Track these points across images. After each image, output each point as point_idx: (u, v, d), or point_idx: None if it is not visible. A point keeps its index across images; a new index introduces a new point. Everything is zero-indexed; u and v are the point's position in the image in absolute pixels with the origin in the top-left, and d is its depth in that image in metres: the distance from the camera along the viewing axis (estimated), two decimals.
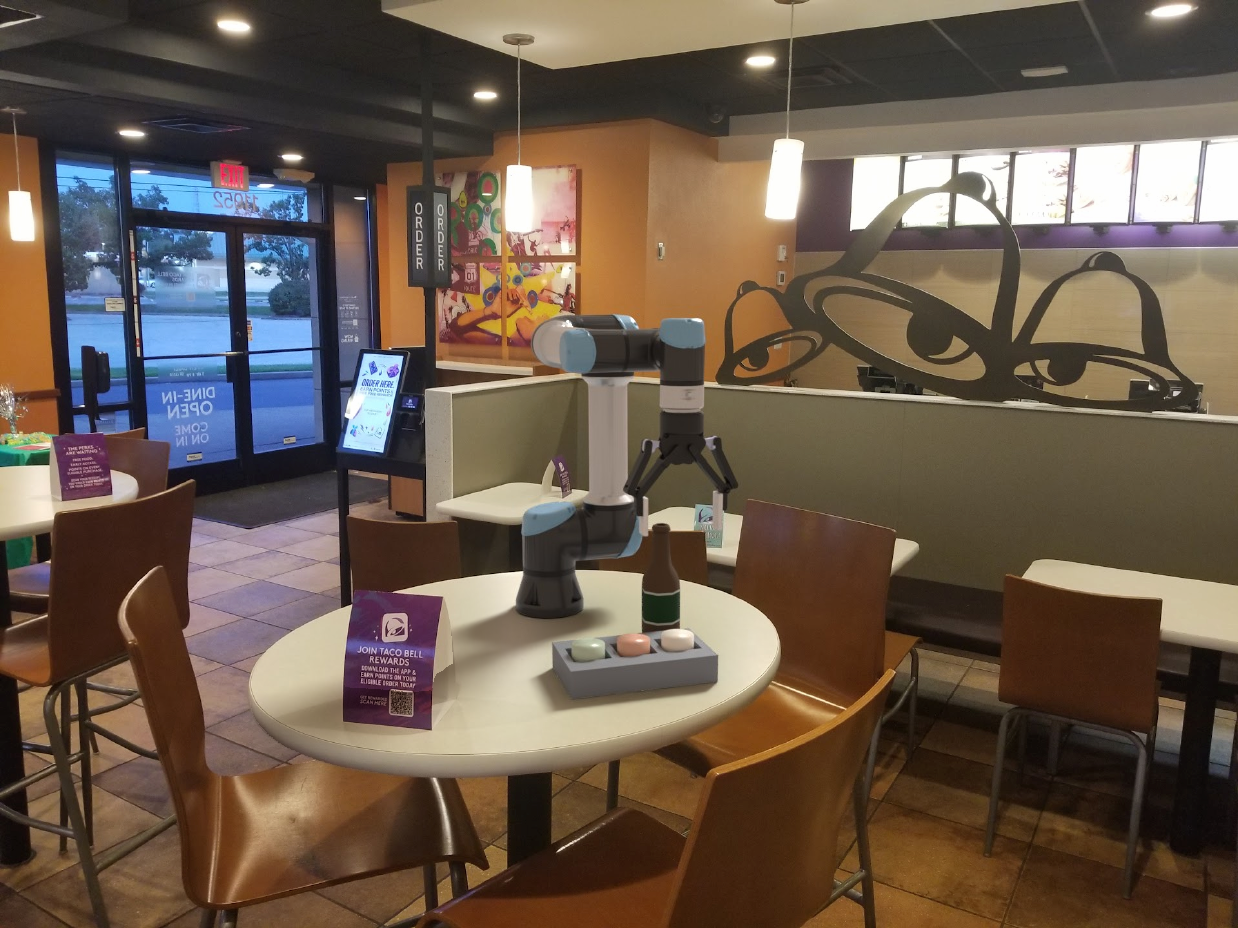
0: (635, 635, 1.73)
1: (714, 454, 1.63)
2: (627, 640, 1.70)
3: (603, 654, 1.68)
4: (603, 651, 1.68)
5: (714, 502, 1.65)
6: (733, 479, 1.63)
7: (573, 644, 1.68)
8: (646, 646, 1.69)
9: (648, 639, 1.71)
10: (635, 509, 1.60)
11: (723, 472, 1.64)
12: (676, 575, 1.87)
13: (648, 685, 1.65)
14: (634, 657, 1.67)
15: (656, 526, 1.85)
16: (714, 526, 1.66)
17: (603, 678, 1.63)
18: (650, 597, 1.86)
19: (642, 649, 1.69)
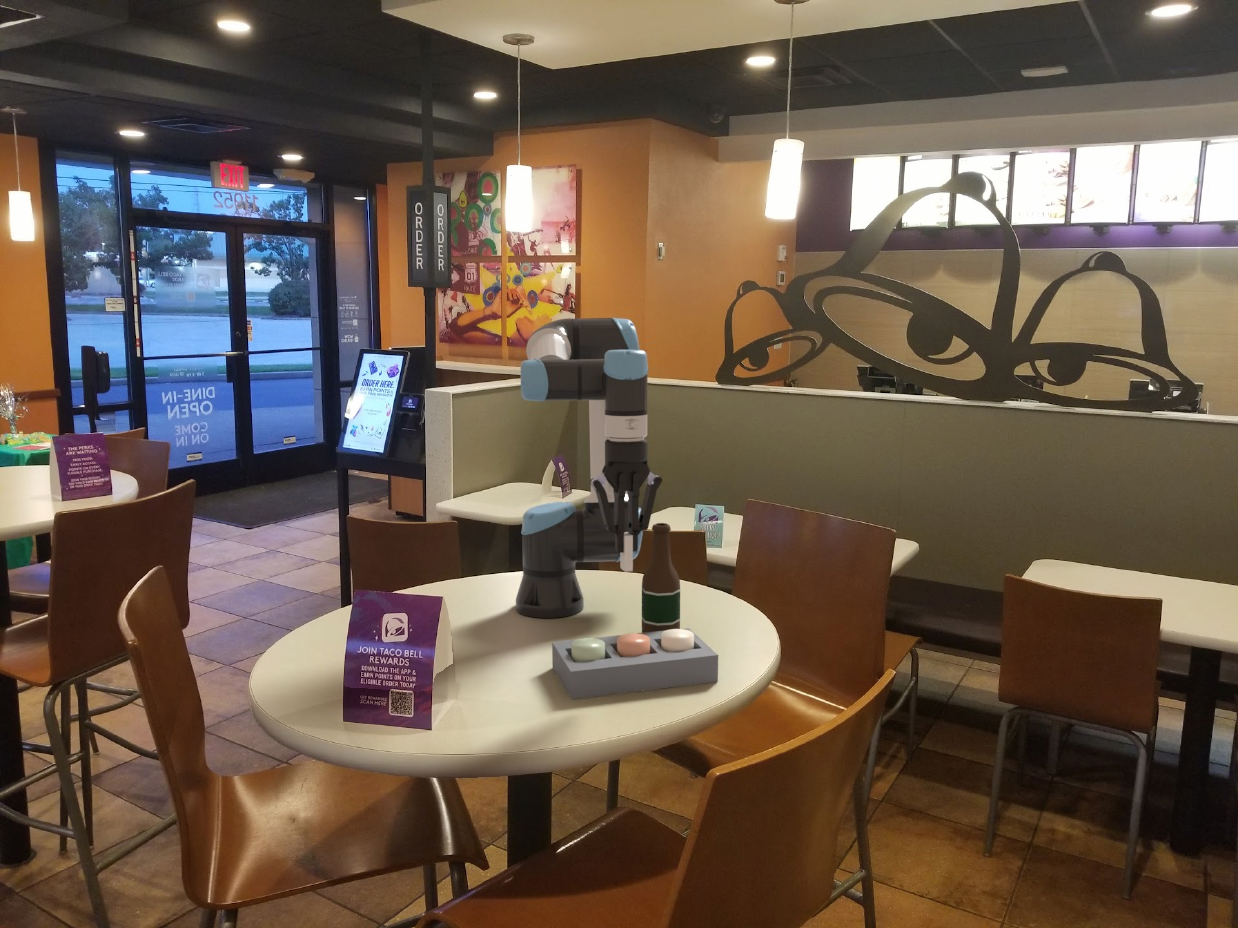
0: (635, 635, 1.73)
1: (647, 490, 1.68)
2: (627, 640, 1.70)
3: (603, 654, 1.68)
4: (603, 651, 1.68)
5: None
6: (647, 521, 1.67)
7: (573, 644, 1.68)
8: (646, 646, 1.69)
9: (648, 639, 1.71)
10: (616, 545, 1.67)
11: (643, 510, 1.68)
12: (676, 575, 1.87)
13: (648, 685, 1.65)
14: (634, 657, 1.67)
15: (656, 526, 1.85)
16: None
17: (603, 678, 1.63)
18: (650, 597, 1.86)
19: (642, 649, 1.69)
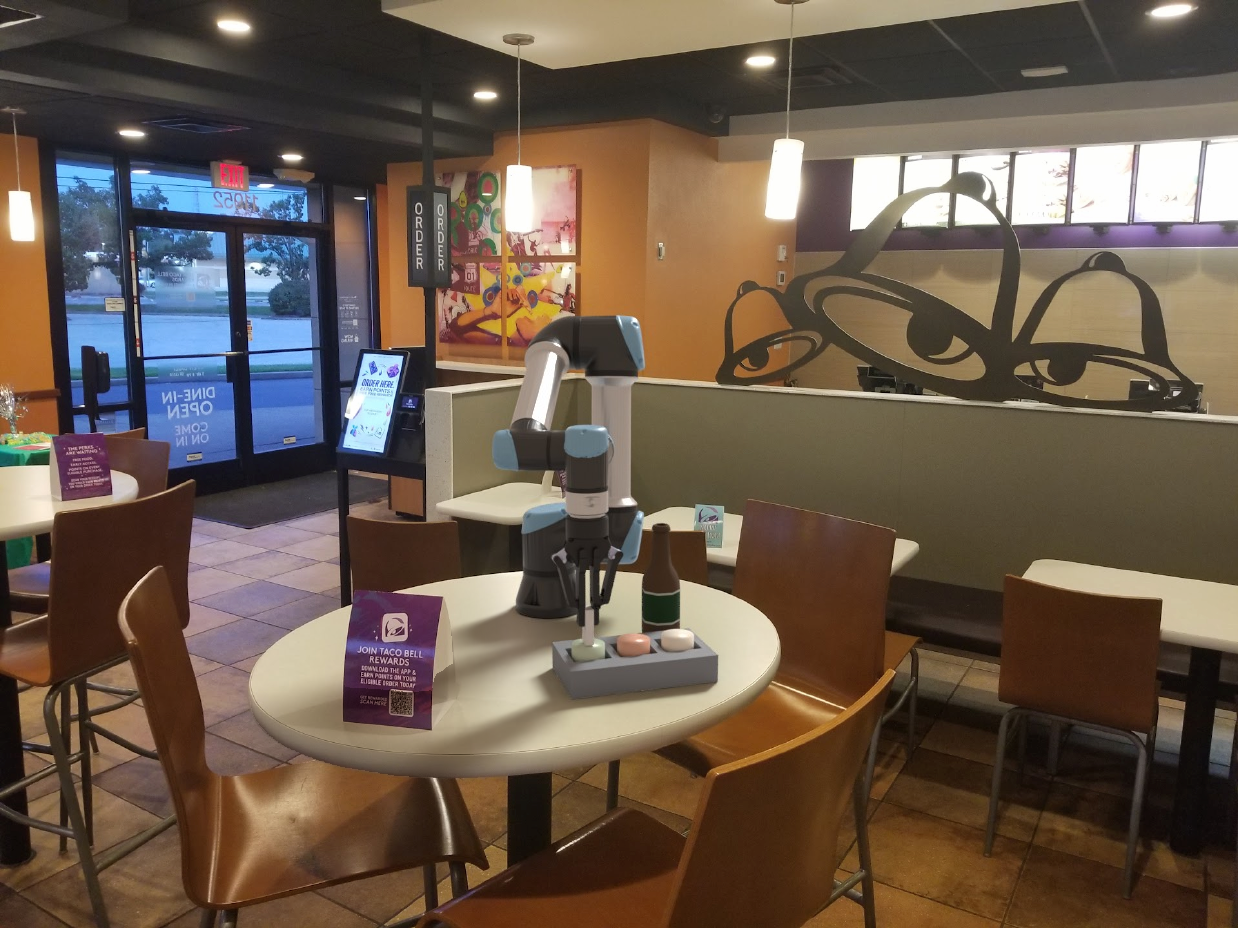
0: (635, 635, 1.73)
1: (608, 564, 1.68)
2: (627, 640, 1.70)
3: (603, 654, 1.68)
4: (603, 651, 1.68)
5: None
6: (608, 595, 1.67)
7: (573, 644, 1.68)
8: (646, 646, 1.69)
9: (648, 639, 1.71)
10: (577, 619, 1.67)
11: (604, 584, 1.68)
12: (676, 575, 1.87)
13: (648, 685, 1.65)
14: (634, 657, 1.67)
15: (656, 526, 1.85)
16: None
17: (603, 678, 1.63)
18: (650, 597, 1.86)
19: (642, 649, 1.69)
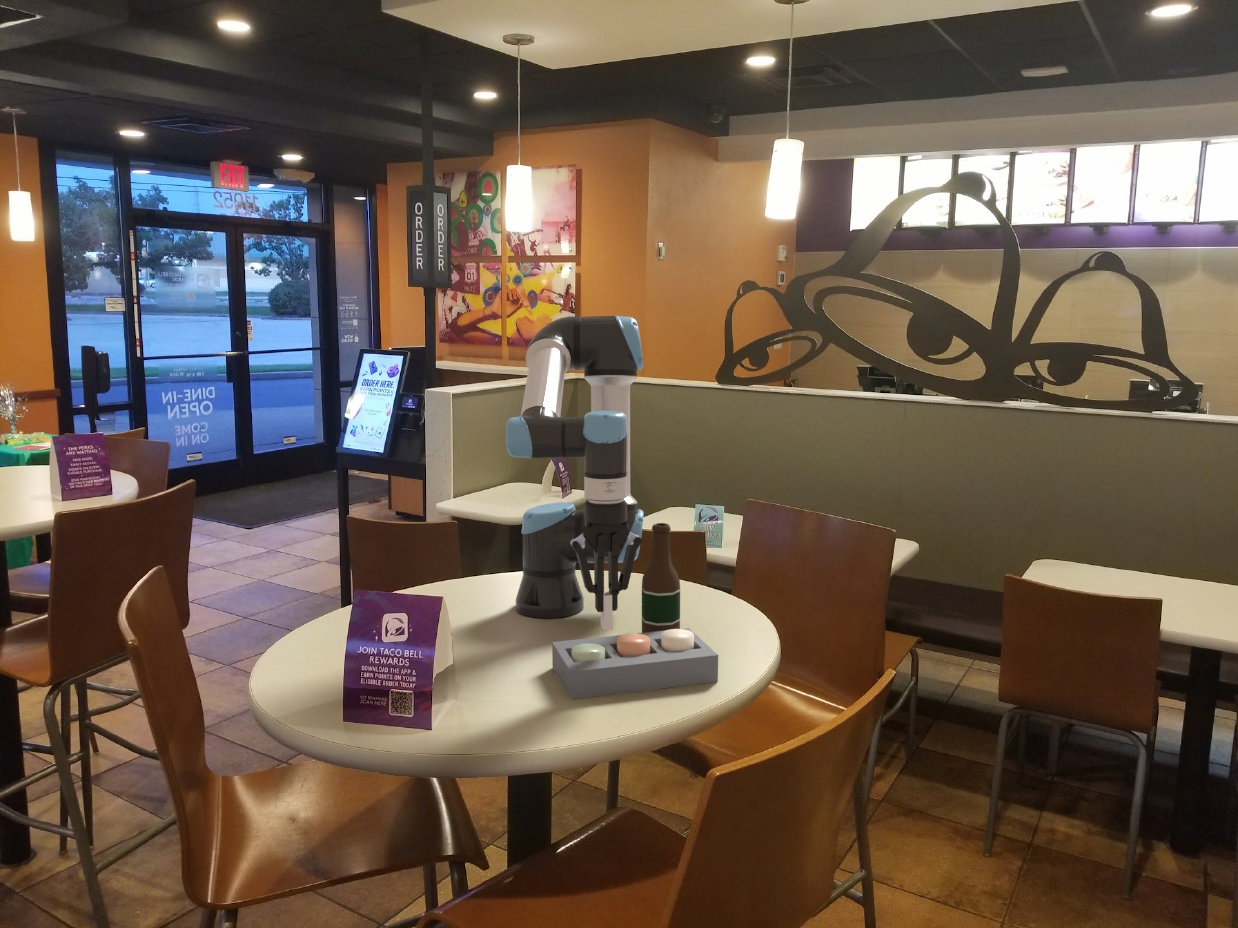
0: (635, 635, 1.73)
1: (627, 550, 1.68)
2: (627, 640, 1.70)
3: None
4: (603, 656, 1.68)
5: None
6: (627, 580, 1.68)
7: (573, 650, 1.69)
8: (646, 646, 1.69)
9: (648, 639, 1.71)
10: (596, 605, 1.68)
11: (623, 570, 1.68)
12: (676, 575, 1.87)
13: (648, 685, 1.65)
14: (634, 657, 1.67)
15: (656, 526, 1.85)
16: None
17: (603, 678, 1.63)
18: (650, 597, 1.86)
19: (642, 649, 1.69)
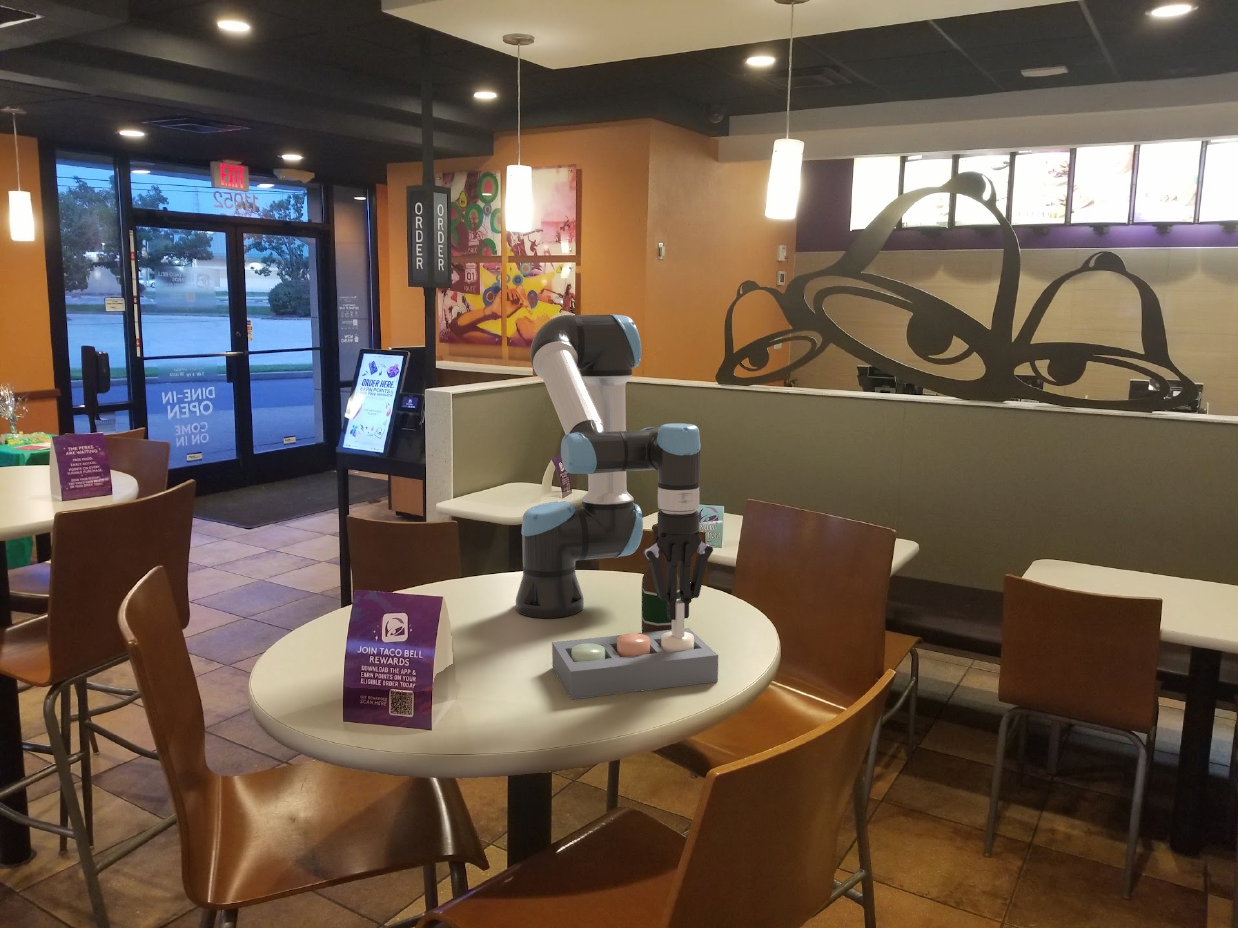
0: (635, 635, 1.73)
1: (698, 559, 1.73)
2: (627, 640, 1.70)
3: None
4: (603, 656, 1.68)
5: None
6: (698, 589, 1.72)
7: (573, 650, 1.69)
8: (646, 646, 1.69)
9: (648, 639, 1.71)
10: (668, 613, 1.72)
11: (694, 578, 1.73)
12: None
13: (648, 685, 1.65)
14: (634, 657, 1.67)
15: (656, 526, 1.85)
16: None
17: (603, 678, 1.63)
18: (650, 597, 1.86)
19: (642, 649, 1.69)
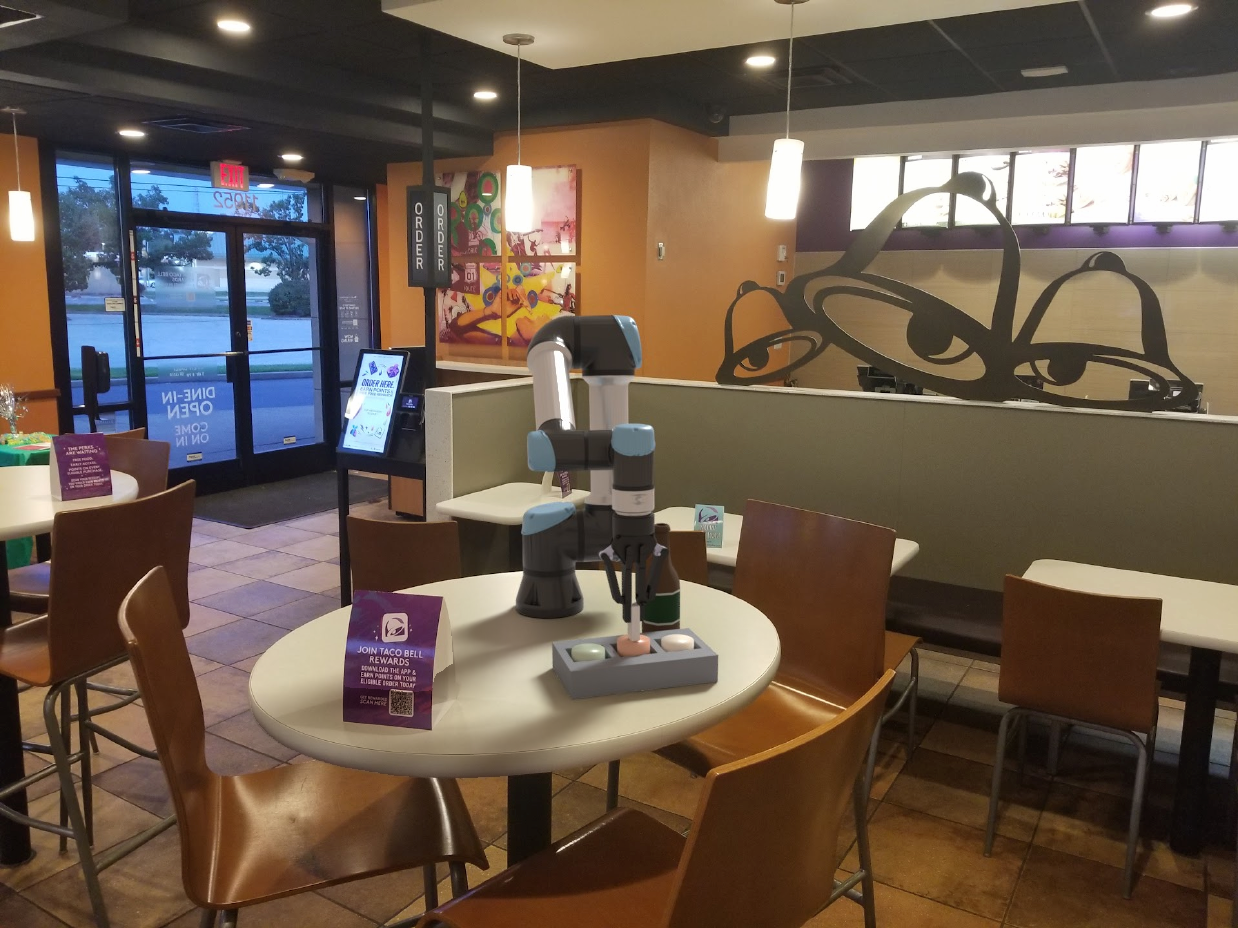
0: None
1: (654, 561, 1.70)
2: (627, 641, 1.70)
3: None
4: (603, 656, 1.68)
5: None
6: (654, 591, 1.70)
7: (573, 650, 1.69)
8: (646, 647, 1.69)
9: (648, 640, 1.71)
10: (623, 616, 1.70)
11: (650, 580, 1.70)
12: (676, 575, 1.87)
13: (648, 685, 1.65)
14: (634, 657, 1.67)
15: (656, 526, 1.85)
16: None
17: (603, 678, 1.63)
18: None
19: (642, 649, 1.69)
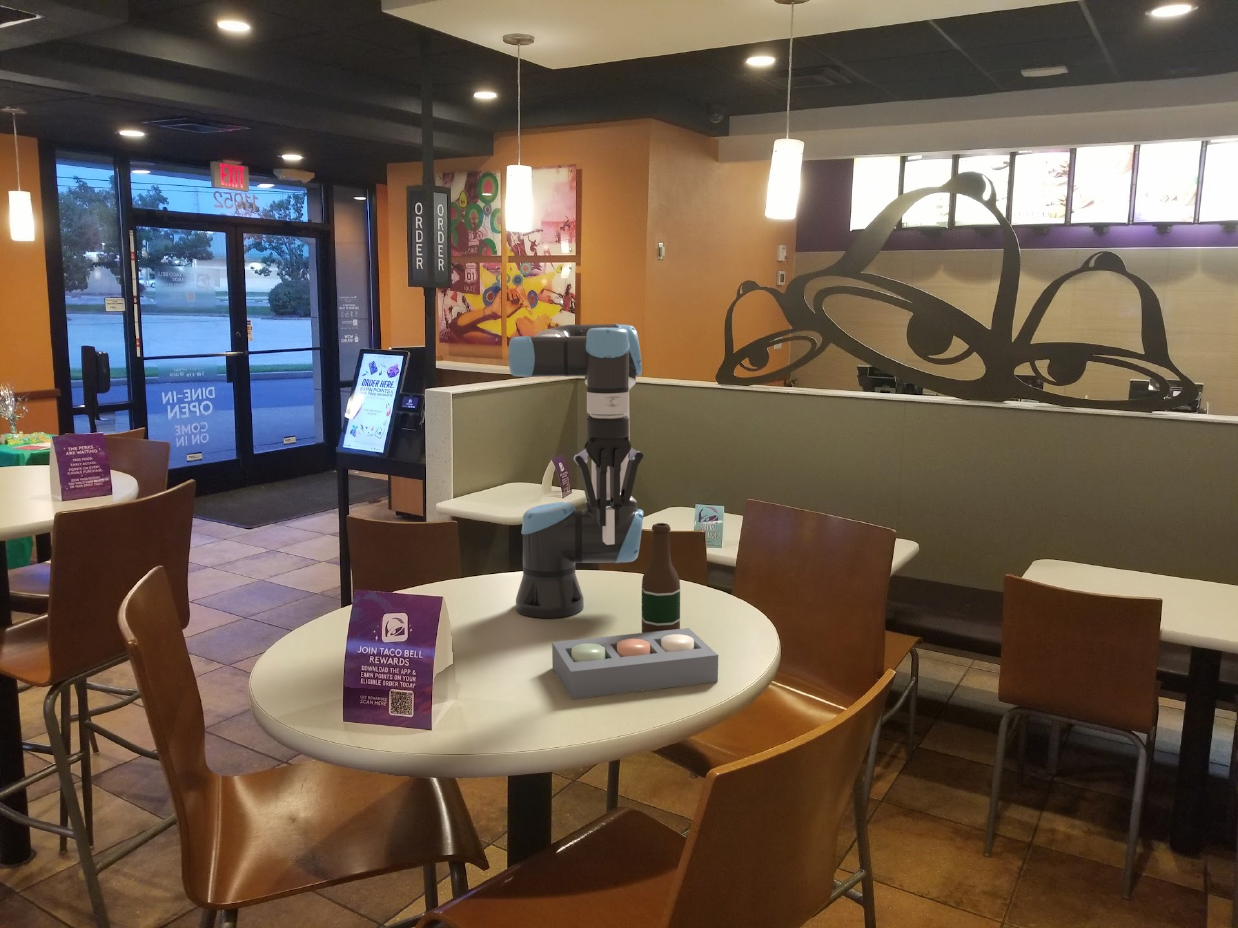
0: (635, 640, 1.73)
1: (628, 465, 1.72)
2: (627, 646, 1.71)
3: None
4: (603, 656, 1.68)
5: None
6: (628, 495, 1.71)
7: (573, 650, 1.69)
8: (646, 652, 1.70)
9: (648, 645, 1.71)
10: (598, 519, 1.71)
11: (624, 485, 1.72)
12: (676, 575, 1.87)
13: (648, 685, 1.65)
14: (634, 657, 1.67)
15: (656, 526, 1.85)
16: None
17: (603, 678, 1.63)
18: (650, 597, 1.86)
19: (642, 654, 1.69)
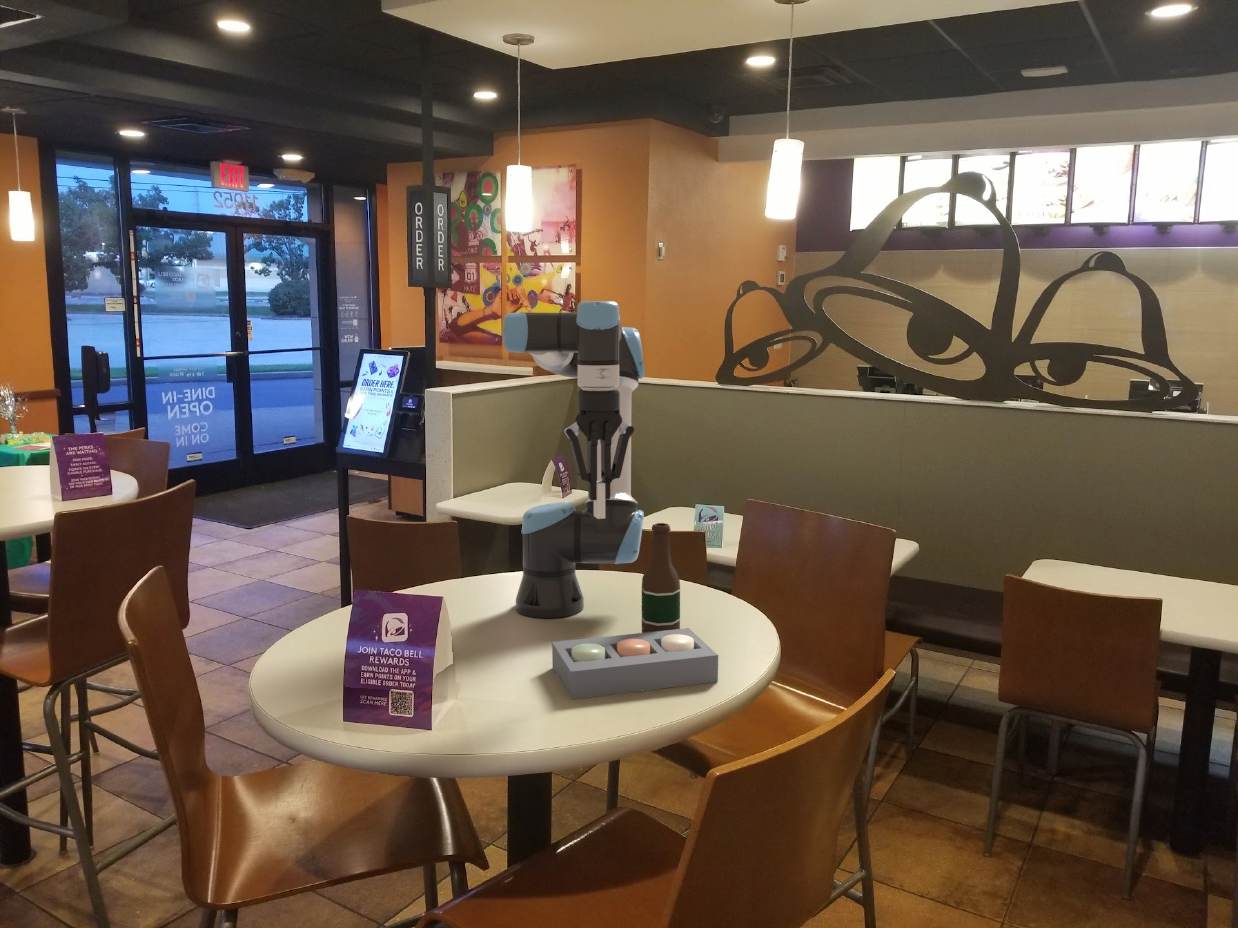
0: (635, 640, 1.73)
1: (619, 439, 1.72)
2: (627, 646, 1.71)
3: None
4: (603, 656, 1.68)
5: None
6: (619, 469, 1.71)
7: (573, 650, 1.69)
8: (646, 652, 1.70)
9: (648, 645, 1.71)
10: (589, 493, 1.71)
11: (615, 459, 1.72)
12: (676, 575, 1.87)
13: (648, 685, 1.65)
14: (634, 657, 1.67)
15: (656, 526, 1.85)
16: None
17: (603, 678, 1.63)
18: (650, 597, 1.86)
19: (642, 654, 1.69)
